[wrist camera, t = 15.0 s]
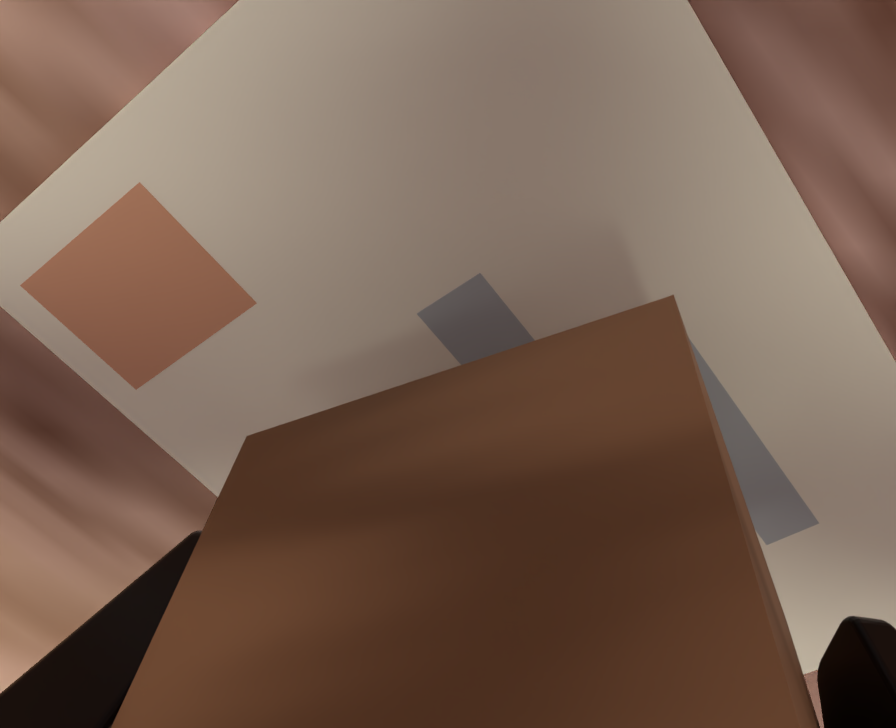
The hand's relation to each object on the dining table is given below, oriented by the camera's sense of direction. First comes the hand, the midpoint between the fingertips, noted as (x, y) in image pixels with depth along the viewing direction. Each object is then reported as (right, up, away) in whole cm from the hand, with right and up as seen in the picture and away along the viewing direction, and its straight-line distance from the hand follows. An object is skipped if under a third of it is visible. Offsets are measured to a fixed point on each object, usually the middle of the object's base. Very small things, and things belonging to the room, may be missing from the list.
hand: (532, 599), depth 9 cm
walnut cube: (0, +1, +1) cm, 1 cm away
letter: (0, +2, +2) cm, 3 cm away
